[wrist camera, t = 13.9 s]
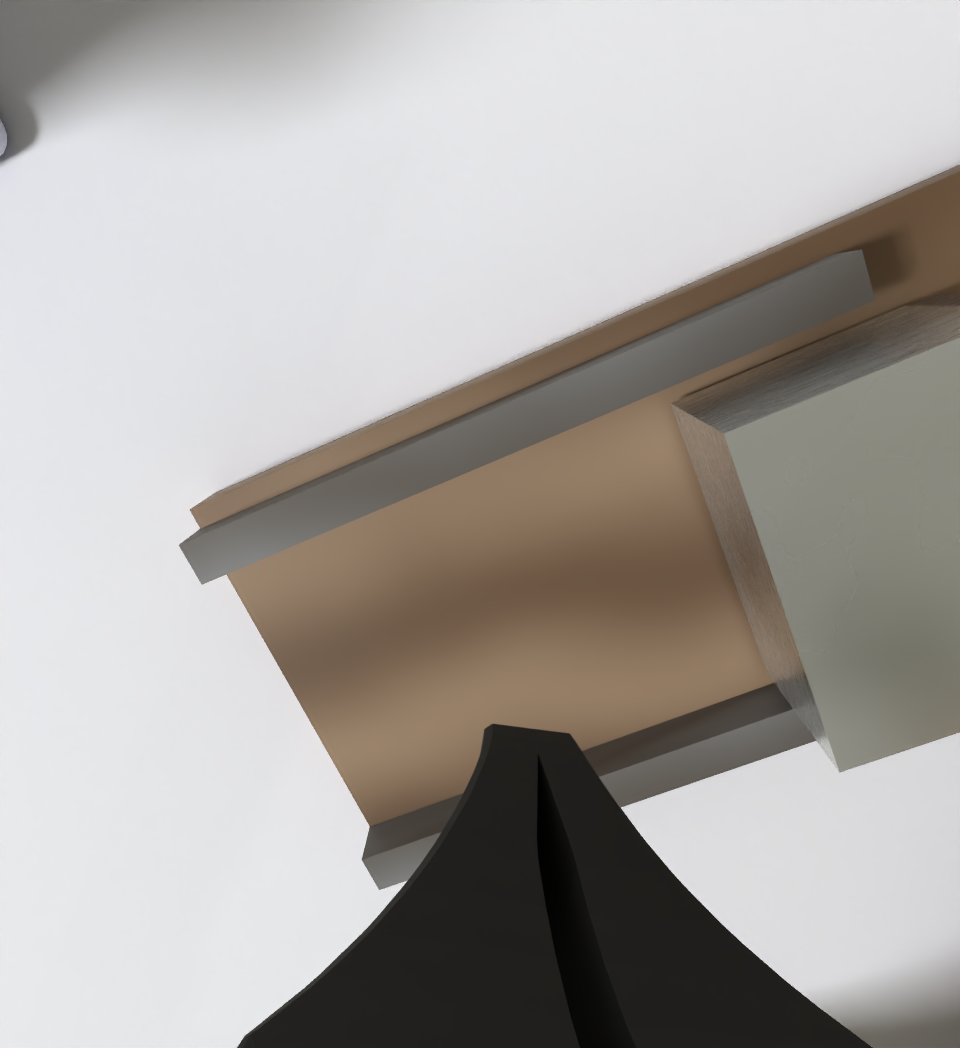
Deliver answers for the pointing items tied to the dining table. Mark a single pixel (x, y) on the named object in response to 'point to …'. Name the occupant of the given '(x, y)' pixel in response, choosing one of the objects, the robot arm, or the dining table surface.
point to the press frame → (550, 543)
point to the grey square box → (847, 524)
